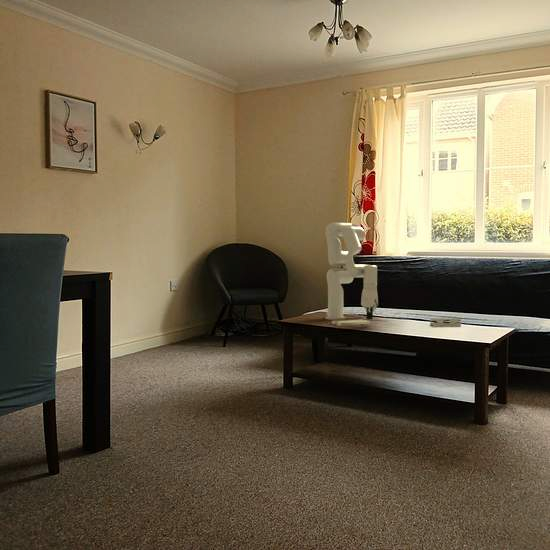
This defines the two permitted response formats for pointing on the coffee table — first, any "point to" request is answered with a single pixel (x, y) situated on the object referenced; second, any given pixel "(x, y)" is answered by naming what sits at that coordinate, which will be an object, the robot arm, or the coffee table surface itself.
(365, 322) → the cabinet panel
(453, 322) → the grey rounded slab
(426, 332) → the coffee table surface
